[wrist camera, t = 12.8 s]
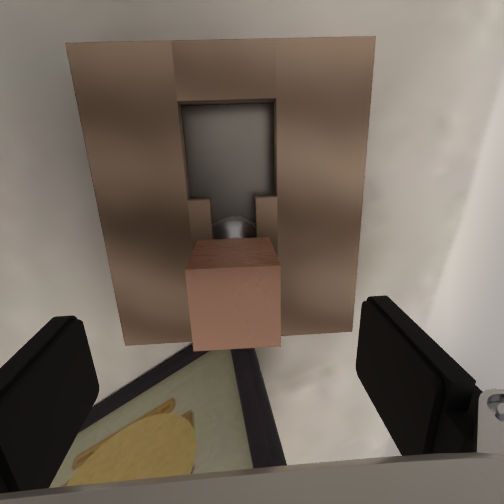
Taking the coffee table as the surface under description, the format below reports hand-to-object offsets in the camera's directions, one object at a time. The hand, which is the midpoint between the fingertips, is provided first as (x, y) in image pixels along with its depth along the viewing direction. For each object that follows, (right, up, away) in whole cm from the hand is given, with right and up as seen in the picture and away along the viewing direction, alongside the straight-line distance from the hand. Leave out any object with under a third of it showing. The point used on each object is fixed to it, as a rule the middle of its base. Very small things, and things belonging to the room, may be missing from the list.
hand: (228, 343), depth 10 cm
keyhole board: (0, +7, +12) cm, 13 cm away
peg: (0, +4, +13) cm, 13 cm away
